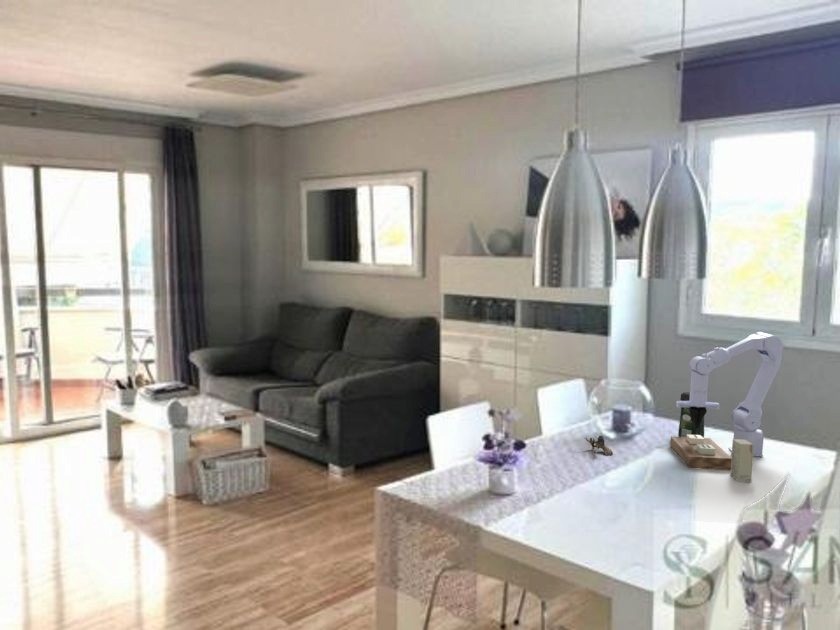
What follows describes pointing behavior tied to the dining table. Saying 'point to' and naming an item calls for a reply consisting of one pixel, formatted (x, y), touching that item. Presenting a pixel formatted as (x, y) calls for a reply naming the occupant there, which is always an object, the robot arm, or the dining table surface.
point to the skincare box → (742, 460)
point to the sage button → (705, 449)
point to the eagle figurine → (600, 445)
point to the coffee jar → (688, 420)
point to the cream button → (695, 439)
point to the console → (700, 455)
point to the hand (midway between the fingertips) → (696, 427)
